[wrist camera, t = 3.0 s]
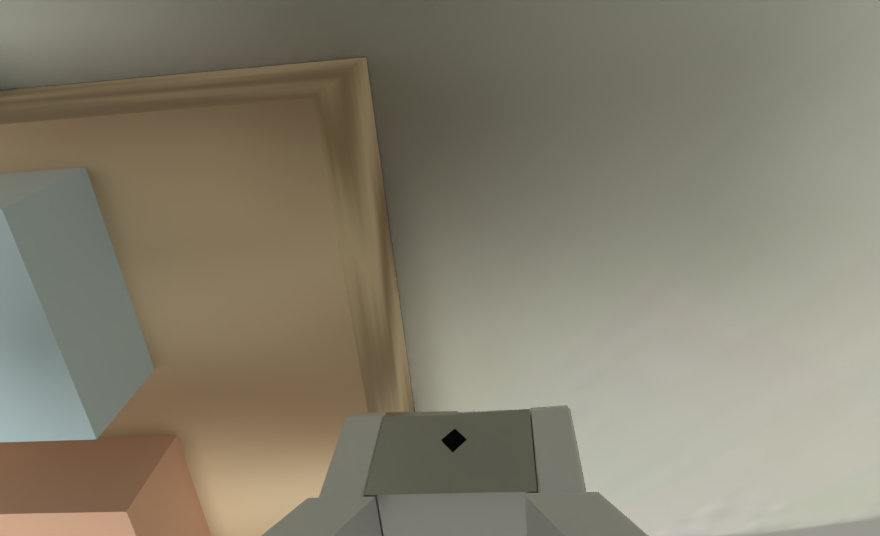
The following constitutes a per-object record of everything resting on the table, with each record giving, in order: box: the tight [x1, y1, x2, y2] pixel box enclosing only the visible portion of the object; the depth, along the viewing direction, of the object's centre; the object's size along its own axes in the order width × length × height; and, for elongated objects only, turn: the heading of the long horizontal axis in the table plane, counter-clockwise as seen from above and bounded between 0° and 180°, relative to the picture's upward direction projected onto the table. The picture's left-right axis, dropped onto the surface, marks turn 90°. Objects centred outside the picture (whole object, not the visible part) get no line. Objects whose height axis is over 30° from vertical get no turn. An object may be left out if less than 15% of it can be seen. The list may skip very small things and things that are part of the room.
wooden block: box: [0, 57, 415, 536], centre depth 18 cm, size 14×11×6 cm
